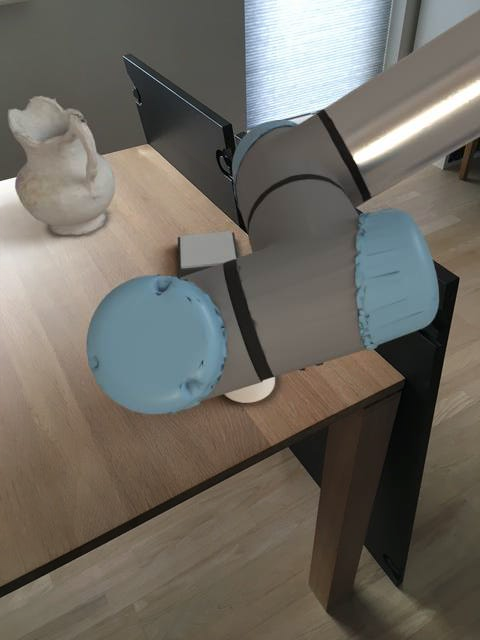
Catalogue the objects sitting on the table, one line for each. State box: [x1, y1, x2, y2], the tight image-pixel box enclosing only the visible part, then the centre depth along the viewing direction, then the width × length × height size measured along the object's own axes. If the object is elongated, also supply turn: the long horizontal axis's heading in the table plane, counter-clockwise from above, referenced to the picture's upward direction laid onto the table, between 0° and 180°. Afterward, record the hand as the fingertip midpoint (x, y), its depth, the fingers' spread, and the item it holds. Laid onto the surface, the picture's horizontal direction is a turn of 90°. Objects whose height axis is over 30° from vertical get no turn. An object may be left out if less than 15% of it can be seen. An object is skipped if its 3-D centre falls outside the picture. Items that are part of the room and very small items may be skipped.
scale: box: [177, 230, 239, 278], centre depth 101 cm, size 11×12×3 cm
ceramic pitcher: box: [7, 95, 116, 236], centre depth 106 cm, size 22×20×25 cm
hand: (234, 346), depth 64 cm, fingers open, 13 cm apart
